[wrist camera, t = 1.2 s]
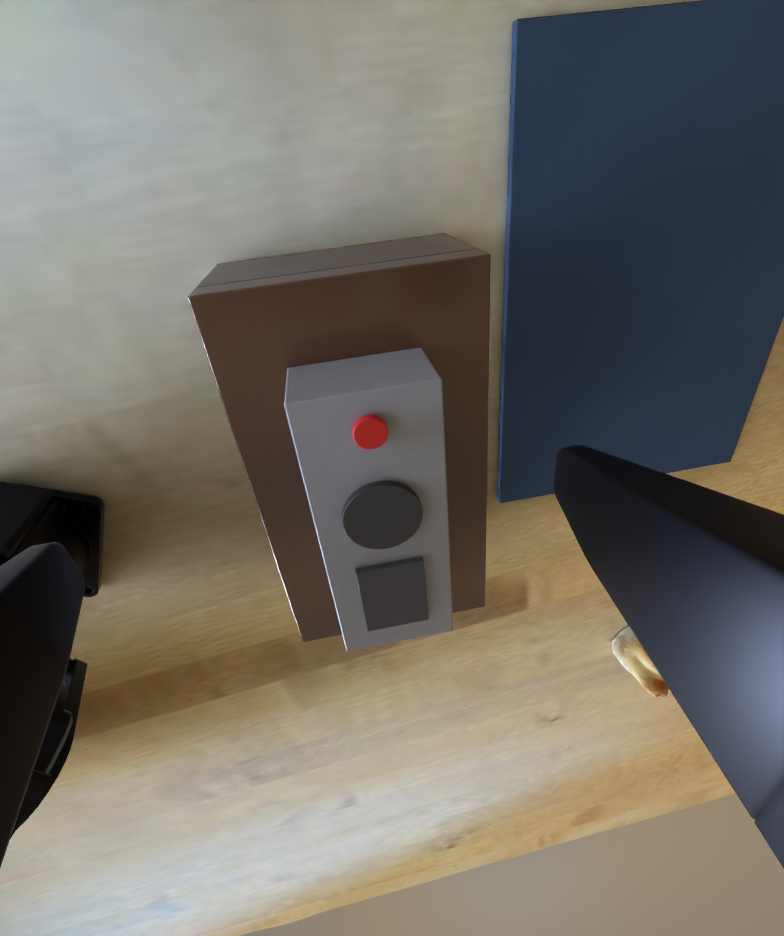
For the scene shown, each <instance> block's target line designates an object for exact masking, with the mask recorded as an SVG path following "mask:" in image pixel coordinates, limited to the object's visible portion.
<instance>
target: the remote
mask: <svg viewBox="0 0 784 936" xmlns="http://www.w3.org/2000/svg"><path fill="white" fill-rule="evenodd" d="M284 407H285V411H286V415H287V419H288V423H289V427H290V431H291V435H292V439H293V443H294V447H295V450H296V454H297V458H298V462H299V466H300V470H301V474H302V478H303V482H304V486H305V490H306V494H307V498H308V502H309V506H310V509H311V513H312V517H313V521H314V525H315V529H316V533H317V537H318V541H319V545H320V549H321V553H322V557H323V561H324V565H325V569H326V572H327V576H328V580H329V584H330V588H331V592H332V596H333V600H334V604H335V608H336V612H337V616H338V620H339V624H340V628H341V631H342V635H343V639H344V643H345V647H346V650H347V651H352V650H357V649H362V648H367V647H372V646H377V645H382V644H387V643H392V642H397V641H402V640H407V639H412V638H417V637H422V636H427V635H432V634H437V633H442V632H447V631H452V630H453V616H452V593H451V570H450V546H449V523H448V500H447V477H446V454H445V431H444V408H443V385H442V379H441V377H440V376H439V374H438V373H437V371H436V369H435V368H434V366H433V365H432V363H431V362H430V360H429V359H428V357H427V356H426V354H425V352H424V351H423V349H422V348H414V349H407V350H401V351H394V352H388V353H381V354H374V355H368V356H361V357H355V358H348V359H342V360H335V361H329V362H322V363H316V364H309V365H303V366H296V367H290V368H288V369H287V378H286V389H285V400H284Z"/></svg>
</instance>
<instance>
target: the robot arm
mask: <svg viewBox="0 0 784 936" xmlns="http://www.w3.org/2000/svg"><path fill="white" fill-rule="evenodd" d="M554 492H555V495H556V498H557V500H558V502H559V504H560V506H561V508H562V510H563V512H564V514H565V516H566V518H567V520H568V522H569V524H570V526H571V528H572V530H573V532H574V535H575V537H576V539H577V541H578V543H579V545H580V547H581V549H582V551H583V553H584V555H585V557H586V559H587V560H588V562H589V564H590V565H591V567H592V569H593V570H594V572H595V574H596V575H597V577H598V578H599V580H600V581H601V583H602V585H603V586H604V588H605V589H606V591H607V592H608V594H609V596H610V597H611V599H612V600H613V602H614V603H615V605H616V606H617V608H618V610H619V611H620V613H621V614H622V616H623V617H624V619H625V621H626V622H627V624H628V625H629V627H630V628H631V630H632V631H633V633H634V635H635V636H636V638H637V639H638V641H639V642H640V644H641V645H642V647H643V649H644V650H645V652H646V653H647V655H648V656H649V658H650V660H651V661H652V663H653V664H654V666H655V667H656V669H657V670H658V672H659V674H660V675H661V677H662V678H663V680H664V681H665V683H666V685H667V686H668V688H669V689H670V691H671V692H672V694H673V695H674V697H675V699H676V700H677V702H678V703H679V705H680V706H681V708H682V710H683V711H684V713H685V714H686V716H687V717H688V719H689V720H690V722H691V724H692V725H693V727H694V728H695V730H696V731H697V733H698V735H699V736H700V738H701V739H702V741H703V742H704V744H705V745H706V747H707V749H708V750H709V752H710V753H711V755H712V756H713V758H714V759H715V761H716V763H717V764H718V766H719V767H720V769H721V770H722V772H723V774H724V775H725V777H726V778H727V780H728V781H729V783H730V784H731V786H732V788H733V789H734V791H735V792H736V794H737V795H738V797H739V799H740V800H741V801H742V803H743V804H744V806H745V808H746V809H747V811H748V813H749V814H750V816H751V817H752V818H753V819H755V824H756V826H757V827H758V829H759V830H760V832H761V833H762V835H763V837H764V838H765V840H766V841H767V843H768V844H769V846H770V848H771V849H772V851H773V852H774V854H775V855H776V857H777V859H778V860H779V862H780V863H781V865H782V866H783V868H784V515H783V514H780V513H777V512H774V511H771V510H768V509H766V508H763V507H760V506H757V505H754V504H751V503H748V502H745V501H743V500H740V499H737V498H734V497H731V496H728V495H725V494H722V493H719V492H717V491H714V490H711V489H708V488H705V487H702V486H699V485H696V484H694V483H691V482H688V481H685V480H682V479H679V478H676V477H673V476H670V475H668V474H665V473H662V472H659V471H656V470H653V469H650V468H647V467H645V466H642V465H639V464H636V463H633V462H630V461H627V460H624V459H622V458H619V457H616V456H613V455H610V454H607V453H604V452H601V451H599V450H596V449H593V448H590V447H587V446H584V445H574V446H569V447H564V448H561V449H560V450H559V451H558V453H557V456H556V465H555V475H554ZM87 505H91V506H93V507H94V508H95V509H92V508H89V507H88V506H87ZM103 525H104V503H103V502H102V500H101V499H99V498H97V497H94V496H89V495H82V494H76V493H70V492H63V491H57V490H51V489H44V488H38V487H32V486H25V485H19V484H13V483H6V482H0V867H1V864H2V861H3V858H4V855H5V852H6V849H7V846H8V843H9V840H10V839H11V837H12V835H13V834H14V832H15V831H16V830H17V829H18V828H19V827H20V826H21V825H22V824H23V823H24V822H25V821H26V820H27V819H28V818H29V816H30V815H31V814H32V813H33V812H34V810H35V809H36V808H37V807H38V806H39V804H40V803H41V801H42V800H43V799H44V797H45V796H46V794H47V793H48V792H49V790H50V788H51V787H52V785H53V783H54V782H55V780H56V779H57V777H58V775H59V773H60V771H61V769H62V767H63V765H64V763H65V761H66V759H67V756H68V754H69V751H70V749H71V745H72V742H73V738H74V733H75V727H76V722H77V717H78V711H79V706H80V701H81V695H82V690H83V685H84V680H85V674H86V669H87V663H85V662H83V661H81V660H79V659H76V658H75V659H71V658H70V654H71V650H72V645H73V641H74V636H75V632H76V627H77V622H78V618H79V613H80V609H81V604H82V599H83V596H84V597H92V596H95V595H96V594H97V593H98V591H99V589H100V587H101V573H102V549H103ZM88 587H90V588H88Z"/></svg>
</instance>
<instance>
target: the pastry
mask: <svg viewBox="0 0 784 936" xmlns="http://www.w3.org/2000/svg"><path fill="white" fill-rule="evenodd" d="M612 644H613V653H614V655H615V656H616V657H617V658H618V660H619V661H620V663H621V664H622V665H623V666H624V667H625V668H626V669H627V670H628V671H629V672H630V673H631V674H632V675H633V676H634V677H635V678H636V679H637V680H638V681H639V682H640V684H641V685H642V686H643V687H644V688H645V689H646V690H647V691H648V692H649V693H650V694H651V695H652V696H653V697H658V696H661V697H665V696H667V693H668V689H669V688H668V686H667V685H666V683H665V681H664V680H663V678H662V677H661V675H660V674H659V672H658V670H657V669H656V667H655V666H654V664H653V663H652V661H651V660H650V658H649V656H648V655H647V653H646V652H645V650H644V649H643V647H642V645H641V644H640V642H639V641H638V639H637V638H636V636H635V635H634V633H633V631H632V630H631V628H630V627H629V626H628V627H626V628H625V629H623V630H622V631H621V632H620V633H619V634H618V635H617V636H616V637H615V638H614V640H613V641H612Z"/></svg>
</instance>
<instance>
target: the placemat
mask: <svg viewBox="0 0 784 936" xmlns="http://www.w3.org/2000/svg"><path fill="white" fill-rule="evenodd" d="M783 316H784V0H703V1H693V2H683V3H673V4H663V5H653V6H643V7H633V8H624V9H614V10H604V11H594V12H584V13H574V14H564V15H554V16H544V17H534V18H524V19H517V20H516V21H514V22H513V35H512V66H511V97H510V128H509V159H508V190H507V221H506V252H505V283H504V314H503V345H502V376H501V407H500V438H499V469H498V501H499V503H504V502H510V501H515V500H521V499H526V498H532V497H537V496H543V495H548V494H554V493H555V492H554V475H555V465H556V456H557V453H558V451H559V450H560V449H561V448H564V447H569V446H574V445H584V446H587V447H590V448H593V449H596V450H599V451H601V452H604V453H607V454H610V455H613V456H616V457H619V458H622V459H624V460H627V461H630V462H633V463H636V464H639V465H642V466H645V467H647V468H650V469H653V470H656V471H659V472H662V473H670V472H675V471H681V470H686V469H692V468H698V467H703V466H709V465H714V464H720V463H725V462H730V461H731V459H732V456H733V453H734V450H735V448H736V445H737V442H738V439H739V437H740V434H741V431H742V428H743V426H744V423H745V420H746V417H747V415H748V412H749V409H750V406H751V404H752V401H753V398H754V395H755V393H756V390H757V387H758V384H759V382H760V379H761V376H762V373H763V371H764V368H765V365H766V362H767V360H768V357H769V354H770V351H771V349H772V346H773V343H774V340H775V338H776V335H777V332H778V329H779V327H780V324H781V321H782V318H783Z"/></svg>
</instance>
